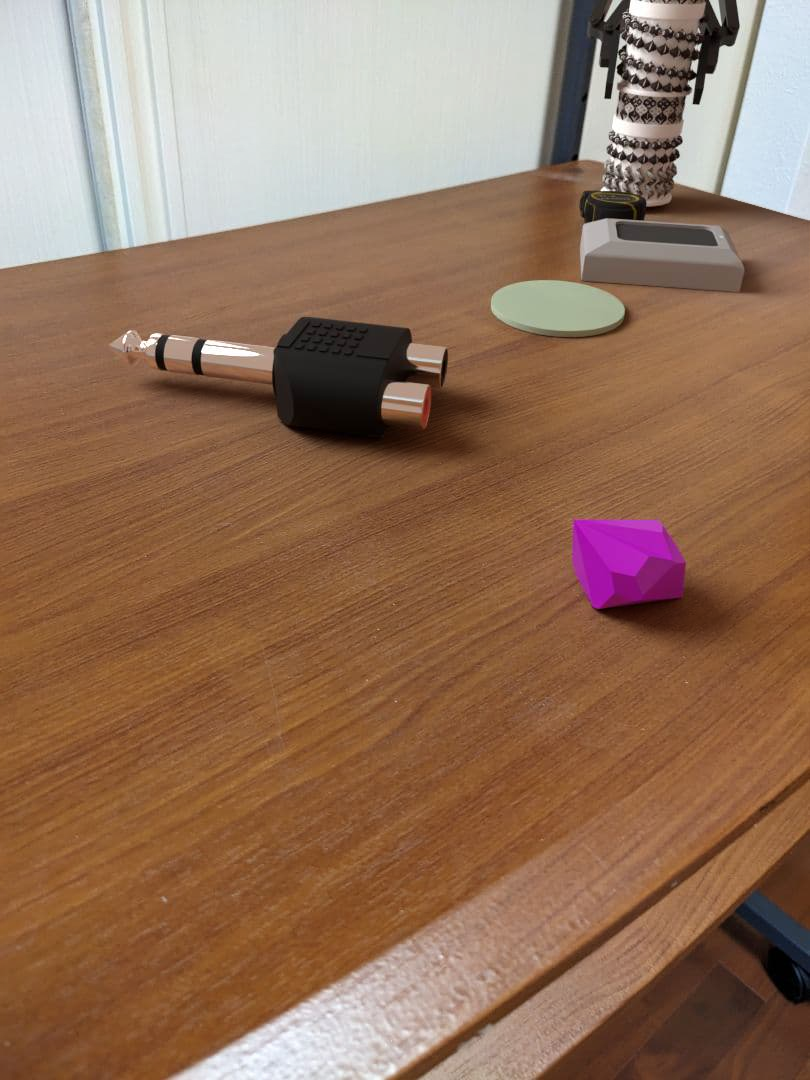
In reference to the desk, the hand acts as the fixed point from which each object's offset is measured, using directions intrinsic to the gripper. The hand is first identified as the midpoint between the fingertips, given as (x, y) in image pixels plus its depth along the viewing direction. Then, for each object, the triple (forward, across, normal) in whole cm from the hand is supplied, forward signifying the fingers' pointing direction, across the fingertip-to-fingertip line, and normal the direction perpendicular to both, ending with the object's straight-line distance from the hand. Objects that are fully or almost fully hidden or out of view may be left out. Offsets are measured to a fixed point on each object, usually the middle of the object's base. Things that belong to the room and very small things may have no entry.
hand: (652, 93), depth 101 cm
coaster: (+33, +6, +15) cm, 36 cm away
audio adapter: (+49, +26, +31) cm, 63 cm away
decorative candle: (+6, 0, -11) cm, 12 cm away
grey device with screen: (+23, -2, +5) cm, 24 cm away
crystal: (+61, -1, +43) cm, 74 cm away
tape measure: (+14, +3, -4) cm, 15 cm away
